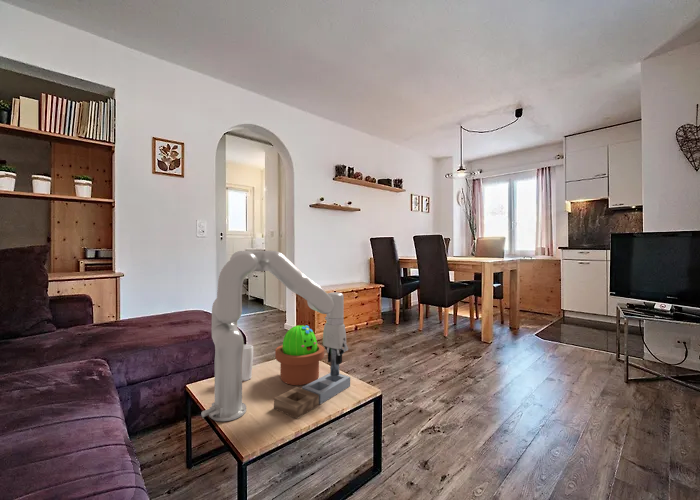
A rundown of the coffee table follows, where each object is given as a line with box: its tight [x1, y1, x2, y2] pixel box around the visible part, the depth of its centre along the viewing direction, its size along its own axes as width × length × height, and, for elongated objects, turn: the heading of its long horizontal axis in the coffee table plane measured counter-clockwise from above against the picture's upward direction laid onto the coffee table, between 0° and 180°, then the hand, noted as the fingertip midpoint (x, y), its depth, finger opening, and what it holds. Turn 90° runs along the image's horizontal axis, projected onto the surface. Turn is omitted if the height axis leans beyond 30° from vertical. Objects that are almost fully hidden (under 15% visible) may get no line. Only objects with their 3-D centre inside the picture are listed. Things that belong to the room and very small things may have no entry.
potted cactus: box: [274, 324, 325, 386], centre depth 149 cm, size 22×22×25 cm
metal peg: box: [329, 348, 340, 376], centre depth 139 cm, size 4×4×14 cm
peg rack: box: [301, 372, 351, 405], centre depth 136 cm, size 20×10×4 cm, turn 144°
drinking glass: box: [242, 343, 254, 382], centre depth 147 cm, size 7×7×15 cm
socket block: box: [273, 386, 320, 420], centre depth 122 cm, size 12×12×4 cm
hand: (334, 362), depth 140 cm, fingers closed on metal peg, 4 cm apart
